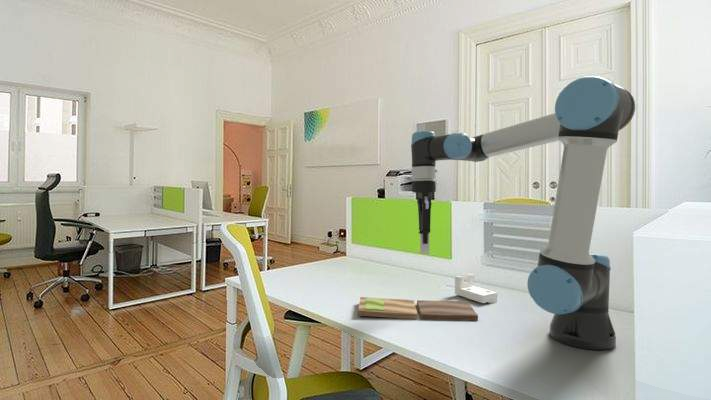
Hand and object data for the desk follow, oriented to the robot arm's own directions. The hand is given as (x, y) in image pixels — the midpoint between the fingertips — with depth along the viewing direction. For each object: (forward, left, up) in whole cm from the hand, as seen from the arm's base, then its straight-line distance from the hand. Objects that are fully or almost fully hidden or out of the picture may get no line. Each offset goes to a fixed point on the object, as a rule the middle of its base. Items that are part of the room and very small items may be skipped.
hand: (424, 253), depth 125 cm
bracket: (+13, -20, -19) cm, 30 cm away
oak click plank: (-2, +12, -18) cm, 22 cm away
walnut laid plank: (-2, -6, -18) cm, 20 cm away
